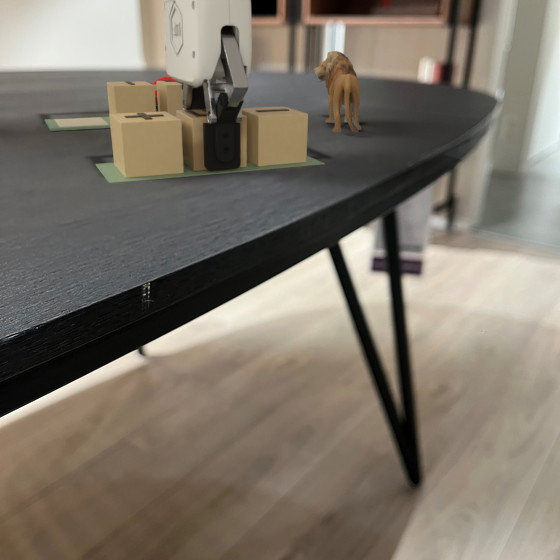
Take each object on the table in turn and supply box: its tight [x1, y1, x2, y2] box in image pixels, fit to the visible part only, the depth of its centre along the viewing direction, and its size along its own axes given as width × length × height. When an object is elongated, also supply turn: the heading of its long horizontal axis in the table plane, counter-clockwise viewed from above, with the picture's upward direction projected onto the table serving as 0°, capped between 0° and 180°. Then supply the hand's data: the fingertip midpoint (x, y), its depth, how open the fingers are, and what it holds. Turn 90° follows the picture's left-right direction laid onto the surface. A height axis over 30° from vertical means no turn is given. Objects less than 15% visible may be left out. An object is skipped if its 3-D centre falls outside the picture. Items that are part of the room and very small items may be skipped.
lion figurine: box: [313, 50, 363, 134], centre depth 73 cm, size 15×5×9 cm, turn 10°
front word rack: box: [95, 106, 326, 184], centre depth 52 cm, size 20×7×5 cm, turn 115°
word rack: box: [44, 80, 183, 132], centre depth 74 cm, size 22×7×5 cm, turn 115°
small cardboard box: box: [176, 109, 247, 171], centre depth 52 cm, size 5×5×5 cm
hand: (211, 159), depth 53 cm, fingers closed on small cardboard box, 5 cm apart
